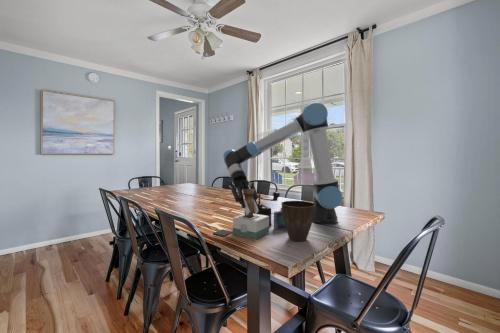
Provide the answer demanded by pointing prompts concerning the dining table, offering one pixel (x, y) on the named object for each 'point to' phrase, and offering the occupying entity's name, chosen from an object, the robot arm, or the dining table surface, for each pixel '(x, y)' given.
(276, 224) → the flask
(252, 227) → the tissue box
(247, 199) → the brown knobbed cylinder
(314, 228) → the dining table surface
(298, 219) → the plant pot
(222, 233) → the mat
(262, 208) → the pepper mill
